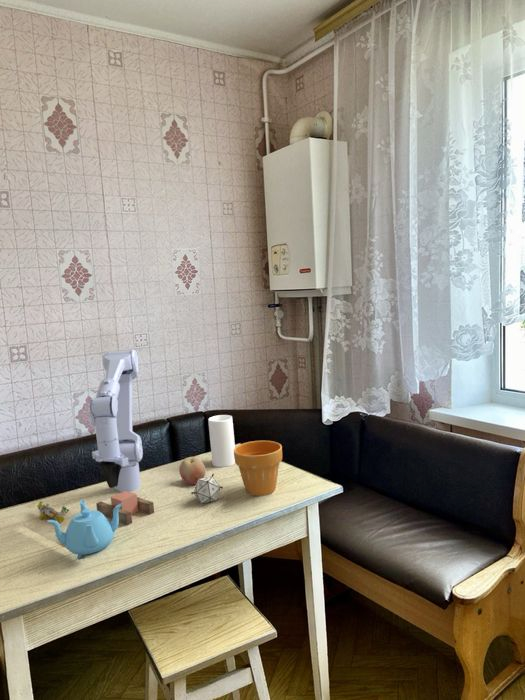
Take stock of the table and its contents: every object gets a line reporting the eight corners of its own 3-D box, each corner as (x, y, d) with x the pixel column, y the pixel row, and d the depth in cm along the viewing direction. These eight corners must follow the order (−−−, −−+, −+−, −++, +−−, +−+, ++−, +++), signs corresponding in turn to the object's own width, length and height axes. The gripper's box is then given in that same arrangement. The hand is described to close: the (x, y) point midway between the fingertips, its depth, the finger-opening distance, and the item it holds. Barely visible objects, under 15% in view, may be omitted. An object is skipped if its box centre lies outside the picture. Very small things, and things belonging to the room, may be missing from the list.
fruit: (182, 489, 165) (179, 464, 164) (179, 480, 172) (177, 456, 171) (207, 484, 166) (205, 460, 165) (204, 476, 174) (202, 452, 173)
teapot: (93, 567, 122) (88, 525, 121) (49, 559, 127) (43, 519, 126) (128, 540, 134) (123, 501, 133) (86, 534, 139) (81, 497, 138)
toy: (55, 501, 159) (75, 511, 147) (46, 518, 157) (66, 530, 146) (39, 495, 156) (59, 505, 144) (30, 512, 154) (49, 524, 143)
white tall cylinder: (209, 467, 182) (205, 421, 180) (215, 459, 190) (211, 415, 188) (233, 466, 181) (229, 420, 179) (238, 458, 189) (234, 414, 187)
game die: (213, 517, 151) (216, 498, 145) (186, 507, 153) (187, 488, 146) (225, 492, 158) (228, 472, 151) (198, 482, 159) (200, 462, 152)
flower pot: (283, 479, 166) (280, 438, 164) (286, 497, 152) (283, 453, 150) (237, 483, 166) (234, 442, 164) (237, 501, 152) (233, 457, 150)
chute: (97, 517, 149) (96, 503, 149) (124, 505, 156) (122, 492, 155) (128, 529, 140) (126, 514, 140) (154, 516, 147) (153, 502, 146)
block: (112, 514, 148) (110, 496, 147) (127, 507, 151) (125, 490, 151) (123, 518, 144) (121, 500, 144) (138, 511, 148) (136, 494, 147)
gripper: (80, 440, 150) (86, 486, 151) (110, 447, 140) (116, 496, 142) (102, 433, 155) (107, 478, 157) (132, 439, 146) (138, 487, 147)
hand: (113, 486), depth 150 cm, fingers closed
